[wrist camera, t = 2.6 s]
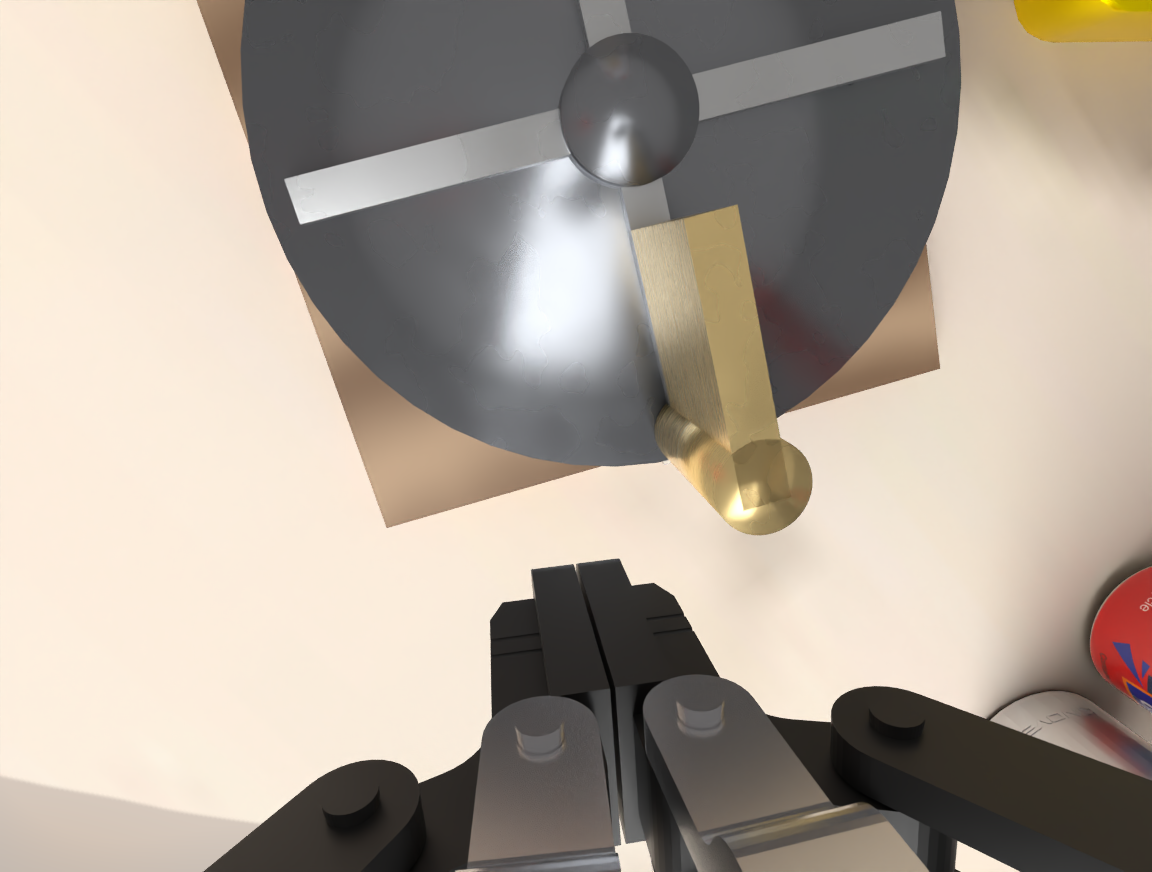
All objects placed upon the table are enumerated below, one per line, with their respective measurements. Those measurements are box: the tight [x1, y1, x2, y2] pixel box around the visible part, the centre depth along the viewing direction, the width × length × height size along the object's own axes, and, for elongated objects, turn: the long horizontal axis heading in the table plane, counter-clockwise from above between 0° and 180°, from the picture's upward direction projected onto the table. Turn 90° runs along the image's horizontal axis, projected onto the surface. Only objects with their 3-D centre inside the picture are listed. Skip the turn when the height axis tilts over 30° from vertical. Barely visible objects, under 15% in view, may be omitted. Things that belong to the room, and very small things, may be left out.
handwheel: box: [240, 0, 961, 535], centre depth 20 cm, size 24×24×8 cm
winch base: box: [197, 0, 940, 528], centre depth 27 cm, size 27×26×5 cm
